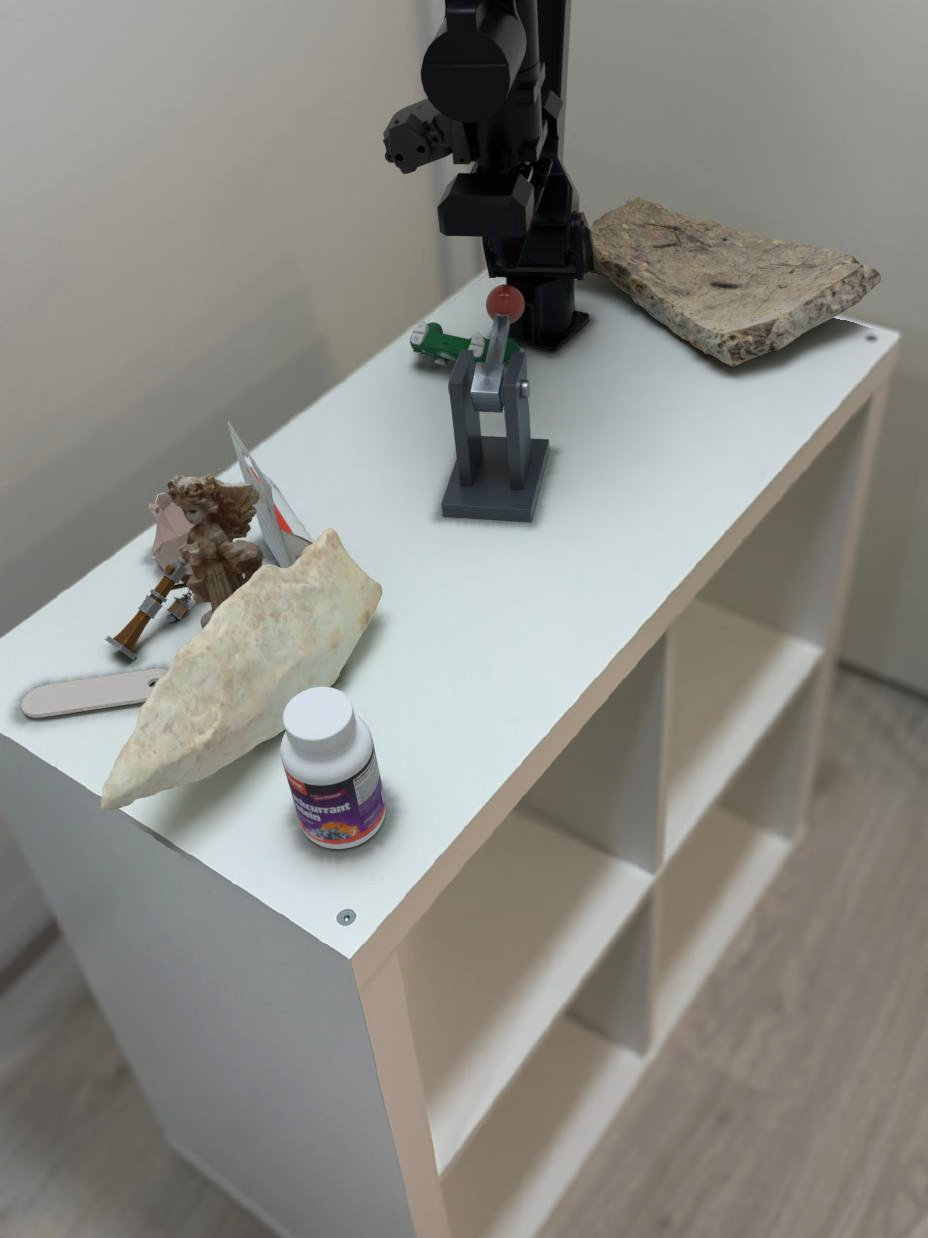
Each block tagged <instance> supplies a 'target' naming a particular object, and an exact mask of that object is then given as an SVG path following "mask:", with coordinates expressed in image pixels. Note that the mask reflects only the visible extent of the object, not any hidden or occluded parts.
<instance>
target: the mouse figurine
mask: <svg viewBox="0 0 928 1238" xmlns="http://www.w3.org/2000/svg"><path fill="white" fill-rule="evenodd" d="M170 497H171V495H170V496H169V495H168V494H167V492H162V493H158V494H156V498H155V501H154V502H153V503H149V504H148V510H149V512H150V513H151V515H152V517H153V520H154V522H155V524H156V528H155V536H154V541H153V544H152V548H151V549H152V550H151V559H153V560H155V562H156V563H157V564H158V565H159V567H160V568H161V569H162V570H163V572H165V571H166V570H164V569H165V567H166V566H167V565H168V564H169V565H170V564H171V562H172V560H173V559H174V560H175V561H177V562H178V559H179V558H180V557H181V552H180V551H179V549H180V547H181V546H182V545H183V544H184V543H185V542H186V541H187V538H188V532H189V530H190V529H191V528H192V527H194V526H195V525H192V524H191V523H190V522H188V521H187V519H186V518H185V516H184V512H183V510H182V509H181V507H180V506H177V505H175V503H173V502H171V499H170ZM184 567H185V568H187V569H188V571H187V572H186V573H185V575H191V576H192V575H193V571H192V568H191V565H190V564H189V563H187V565H185V566H184Z"/></svg>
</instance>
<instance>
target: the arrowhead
mask: <svg viewBox="0 0 928 1238" xmlns="http://www.w3.org/2000/svg"><path fill="white" fill-rule="evenodd" d="M382 595H383V588H382V585H381V584H380V583H379V582H378V581H377V580H375V579H373V578H372V577H370V575H368V574H367V572H365V571H364V570H363V569H362V568H361V567H360V566H359V565H358V564H357V563H356V561H355V560H354V559H353V558H352V557H351V556H350V553H348V551H347V549H346V548H345V546H344V545H343V542H342V541H341V538H340V535H339V534H338V532H337V531H336V530H335V529H334V528H330V527H329V528H327V529H326V530H324V531H323V532H322V533H321V534H320V535H319V536H318V537H317V538H316V539H315V541H314V543H312V544H311V545H309V546H307V547H306V548H305V549H304V551H303V553H302V555H301V557H299V558H298V559H297V560H296V562H295V563H294V564H293V565H292V566H290V567H288V568H281V567H280V566H277V565H275V564H269V563H268V564H266V563H265V564H262V566H261V567H260V568H259V569H258V570H257V571H256V572H255V573H254V574H253V575H252V577H251V578H250V579H249V581H248V582H246V583H245V584H244V585H243V586H241V587H240V588H239V589H237V590H236V591H235V592H234V593H233V594H232V595H231V596H230V597H229V598H228V599H226V600H225V601H224V602H222V603H221V604H220V605H219V607H218V608H217V609H216V610H215V611H214V613H213V615H212V617H211V619H210V620H209V622H208V624H207V625H206V626H205V627H204V628H202V629H201V630H200V631H199V632H197V633H196V634H194V635H193V637H192V638H191V639H190V640H189V641H188V642H187V643H186V644H185V645H183V646H182V647H181V648H180V649H178V650H177V652H176V653H175V656H174V658H173V660H172V662H171V664H170V666H169V667H168V668H167V669H166V670H167V671H166V672H165V673H164V674H163V675H162V676H161V677H160V678H159V680H158V681H157V682H154V685H153V687H154V688H153V690H152V692H151V694H150V695H149V697H148V699H147V701H146V702H143V704H142V705H141V706H140V708H139V713H138V718H137V721H136V722H137V723H136V726H135V728H134V730H133V732H132V733H131V735H130V737H129V738H128V740H127V741H126V742H125V744H124V745H123V747H122V748H121V750H120V751H119V753H118V755H117V757H116V759H115V761H114V763H113V766H112V769H111V771H110V773H109V776H108V777H107V779H106V780H105V782H104V784H103V786H102V792H101V793H102V794H101V799H100V800H101V801H100V809H101V810H102V811H112V810H119V809H122V808H124V807H127V806H128V807H129V806H130V805H131V804H133V803H134V802H136V801H137V800H139V799H143V798H147V797H151V796H154V795H157V794H159V793H160V792H163V791H166V790H171V789H175V788H178V787H182V786H187V785H191V784H194V783H198V782H200V781H202V780H204V779H206V778H208V777H210V776H212V775H213V774H215V773H216V772H219V770H220V769H222V768H224V767H226V766H228V765H230V764H231V763H233V762H235V761H236V760H238V759H240V758H241V757H242V756H244V755H246V754H248V753H250V752H251V751H252V750H253V749H254V748H255V747H256V746H258V745H260V744H262V743H263V742H266V741H269V740H272V739H273V738H275V737H276V736H278V735H279V734H280V733H282V732H283V731H285V727H284V723H283V713H284V710H285V707H286V706H287V704H288V703H289V702H290V700H291V699H292V698H293V697H295V696H296V695H297V694H299V693H301V692H303V691H305V690H307V689H311V688H315V687H331V688H332V686H333V685H334V684H335V683H336V681H337V680H338V678H339V677H340V673H341V671H342V669H343V668H344V667H345V665H346V663H347V662H348V660H349V658H350V656H351V654H352V652H353V651H354V648H355V647H356V645H357V643H358V642H359V640H360V638H361V636H362V635H363V633H364V632H365V630H366V629H367V627H368V626H369V624H370V622H371V621H372V618H373V616H374V615H375V612H376V610H377V608H378V606H379V603H380V601H381V598H382Z"/></svg>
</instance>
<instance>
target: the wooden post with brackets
mask: <svg viewBox="0 0 928 1238" xmlns="http://www.w3.org/2000/svg"><path fill="white" fill-rule="evenodd" d="M185 565H187V563H185V560H184V559H182V557H180V558H179V559H178V562H177V561H175V560H174V559H173V560H172V562H171V564H170V565H169V564H168V565H167V566H166V567H165V569H164V570H166V571H164V570H163V572H162V575H163V576H162V578H161V579H160V580H159V582H158V584H157V585H156V586H155V588H151V589H150V591H148V592H149V593H150V594H149V595H148V594H146V596H145V599H144V600H143V601H142V603H141V604H140V605H139V606H138V607H137V609H138V611H137V612H136V614H135V615H134V616H133V618H132V619H131V620H130V621H129V622H128V623H127V624H126V625H125V626H124V627H123V628H122V629H121V631H119V632H118V633H117V634H116V635H115V636H114V637H112V636H110V635H107V637H106V638H104V641H106V642H108V643H109V644H110V645H112V646H113V647H115V649H117V650H119V651H120V652H121V653H123V654H124V655H126V656H128V658H130V659H132V660H133V661H135V658H136V657H137V654H136V653H134V650H135V647H136V645H137V643H138V641H139V639H140V638H141V635H142V634H143V632H144V630H145V628H146V627H147V626H148V623H149V622H150V621H151V619H153V620H155V618H156V615H157V614H158V613H159V611H160V610H161V609H162V608H163V607H164V606H163V603H165V604H166V603H167V601H168V598H167V597H168V595H170V592H171V591H175V590H180V589H183V588H184V589H185V588H187V589H188V587H187V583H188V580H189V579H190V576H187V574H185V573H186V572H187V571H188V569H187V568H185V567H184V566H185ZM180 582H181V583H180ZM181 594H182V595H181V597H176V596H174V597H173V599H174V602H173V603H172V604H171V605H170V606H169V608H166V609H165V610H166V611H167V612H169V613H168V614H167V616H166V619H167V621H168V622H169V623H174V622H175V621H176V619H179V620H180V621H182V620H183V619H182V618H183V616H184V615H185V613H186V611H187V610H192V608H191V606H190V605H189V602H190V601H192V598H191V597H192V595H194V593H193V592H192V591H191V590H189V589H188V591H187V593H181Z"/></svg>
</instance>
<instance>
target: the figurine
mask: <svg viewBox="0 0 928 1238" xmlns="http://www.w3.org/2000/svg"><path fill="white" fill-rule="evenodd" d="M166 486H167V488H168V491H167V492H166V493H167V494H168V495H169V496H171V497H170V499H171V502H173V503H175V505H177V506H180V507H181V509H182V510H183V512H184V516H185V518H186V519H187V521H188V522H190V523H191V524H192V525H195V526H194V527H192V528H191V529H190V530H189V532H188V538H187V541H186V542H185V543H184V544H183V545H182V546H181V547H180V549H179V551H180V552H181V557H182V559H184V560H185V563H189V564H190V565H191V568H192V571H193V574H192V575H191V576H189V578H190V579H189V580H188V583H187V587H188V588H187V587H186V588H187V589H188V591H189V590H190V592H191V593H192V592H193V596H192V598H193V600H194V601H195V602H196V603H198V604H205V603H210V607H211V610H209V611H207V612H206V613H204V614H203V615H202V616H201V618H200V627H201V628H202V629H203V628H204V627H205V626H206V625H207V624H208V622H209V620H210V619H211V617H212V615H213V613H214V611H215V610H216V609H217V608H218V607H219V605H220V604H221V603H222V602H224V601H225V600H226V599H228V598H229V597H230V596H231V595H232V594H233V593H234V592H235V591H236V590H237V589H239V588H240V587H241V586H243V585H244V584H245V583H246V582H248V581H249V579H250V578H251V577H252V575H253V574H254V573H255V572H256V571H257V570H258V569H259V568H260V567H261V566H263V560H264V559H265V558H266V557H265V554H264V551H263V550H262V548H261V546H260V545H259V544H257V543H255V542H253V541H248V540H244V539H247V535H248V533H249V532H250V531H251V530H252V528H251V525H250V523H251V522H252V520H253V518H254V517H256V512H257V511H256V509H255V507H254V506H253V505H254V504H256V503H257V502H258V500H259V493H258V492H257V491H256V489H254V488H253V486H254V485H252V484H246V483H245V482H243V481H239V482H235V483H231V482H223V481H221V479H219V478H217V479H216V477H214V475H213V474H211V473H209V472H208V473H207V474H206V475H204V476H203V475H200V476H199V477H196V476H187V477H186V476H185V475H183V474H181V475H180V476H179V475H175V476H174V477H173V478H171V479H170V480H169V481H168V482H167V483H166ZM241 538H242V539H241ZM236 539H237V540H236ZM243 574H244V576H243Z"/></svg>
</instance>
